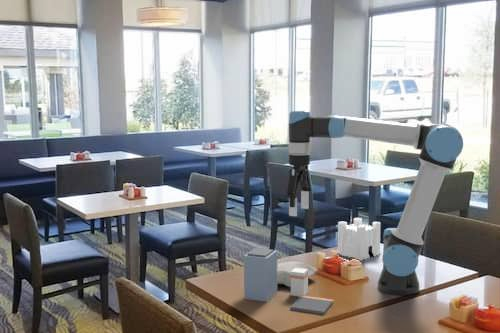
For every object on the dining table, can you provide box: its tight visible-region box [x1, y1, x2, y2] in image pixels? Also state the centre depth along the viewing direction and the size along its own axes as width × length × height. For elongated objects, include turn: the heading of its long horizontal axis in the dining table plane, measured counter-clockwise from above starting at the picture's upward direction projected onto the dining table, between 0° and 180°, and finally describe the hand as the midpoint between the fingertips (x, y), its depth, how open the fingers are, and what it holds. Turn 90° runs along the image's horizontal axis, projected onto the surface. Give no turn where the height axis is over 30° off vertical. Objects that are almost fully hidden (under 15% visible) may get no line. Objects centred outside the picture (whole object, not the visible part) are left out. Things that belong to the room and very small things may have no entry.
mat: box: [289, 295, 335, 315], centre depth 202 cm, size 12×12×1 cm
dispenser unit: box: [243, 247, 278, 303], centre depth 212 cm, size 10×10×17 cm
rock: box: [277, 260, 318, 288], centre depth 227 cm, size 19×7×25 cm
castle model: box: [337, 217, 382, 261], centre depth 263 cm, size 14×14×15 cm
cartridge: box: [290, 268, 309, 297], centre depth 214 cm, size 5×5×9 cm
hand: (299, 212), depth 210 cm, fingers open, 13 cm apart
